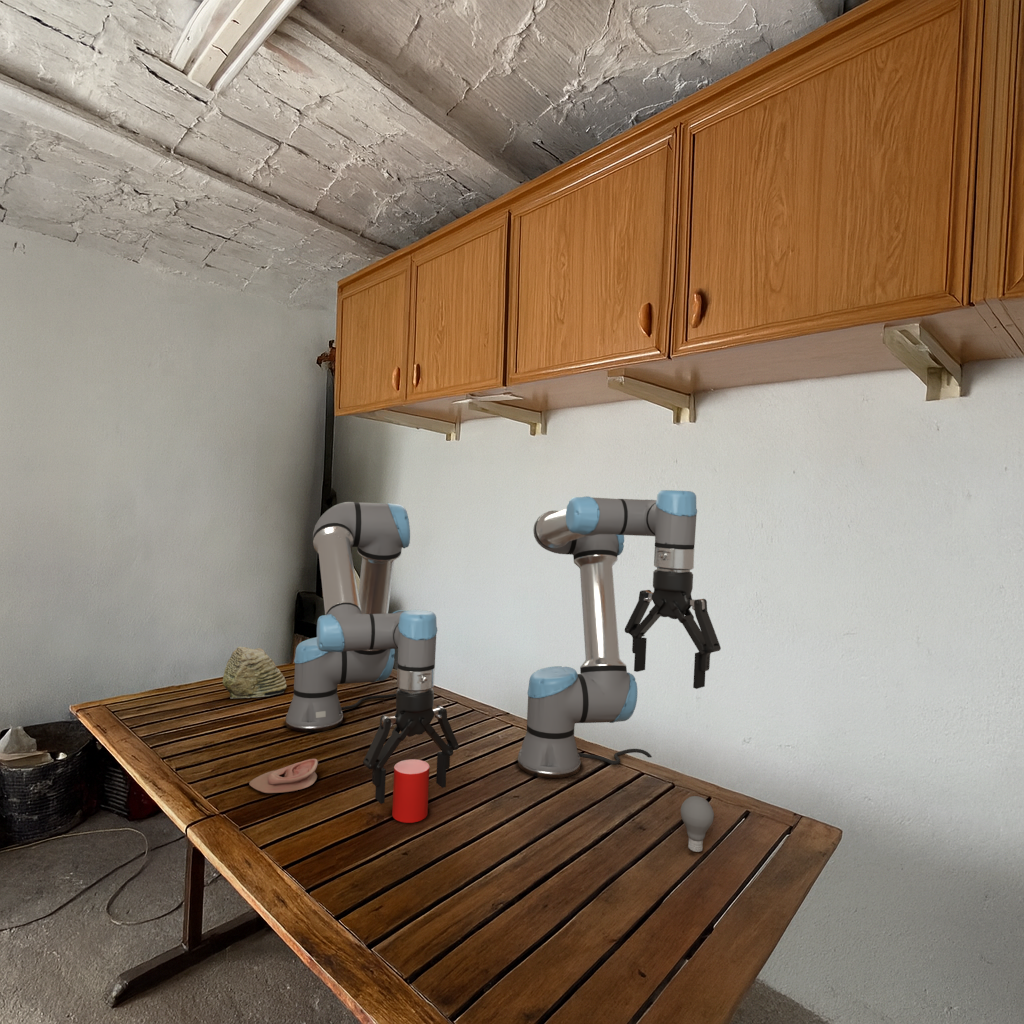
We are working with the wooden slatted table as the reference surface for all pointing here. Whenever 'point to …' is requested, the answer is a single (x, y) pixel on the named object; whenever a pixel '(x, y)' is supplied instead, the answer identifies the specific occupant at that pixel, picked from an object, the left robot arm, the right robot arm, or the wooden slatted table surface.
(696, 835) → the light bulb
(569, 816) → the wooden slatted table surface
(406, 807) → the cylinder
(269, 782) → the anatomical model
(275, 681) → the fossil
